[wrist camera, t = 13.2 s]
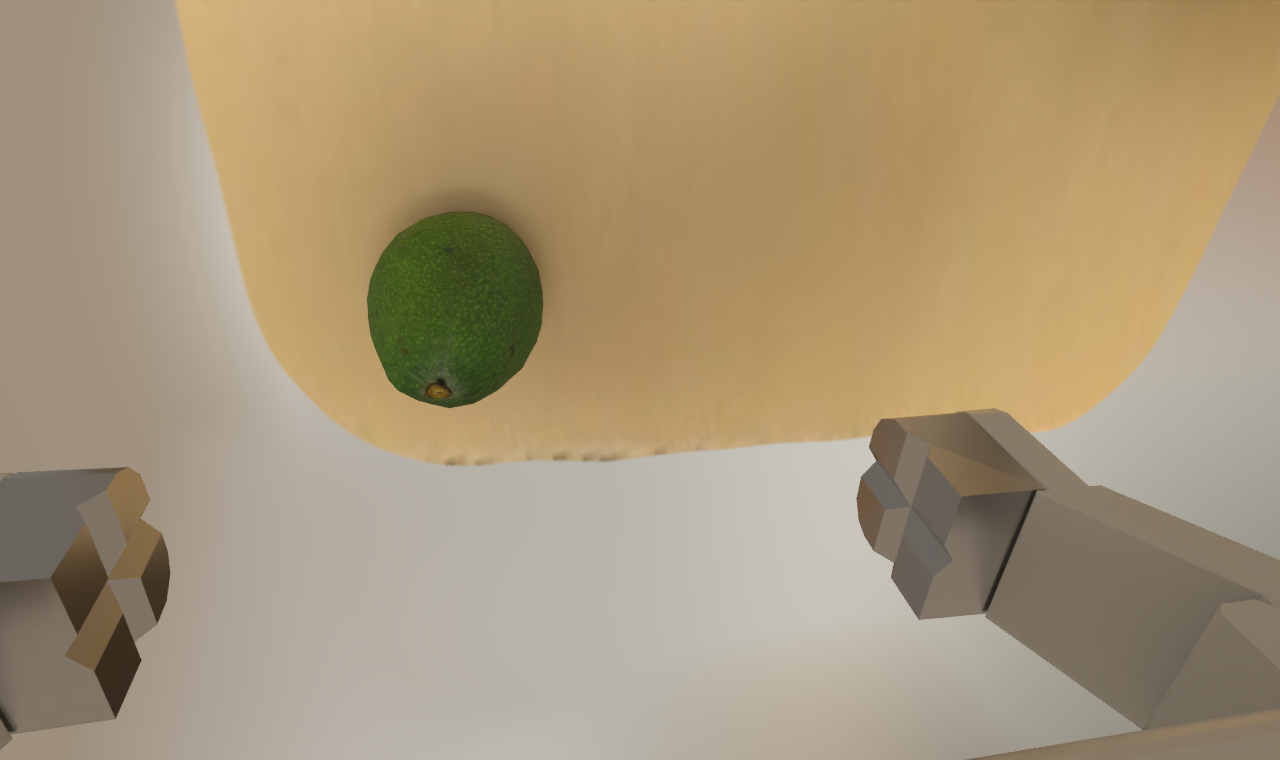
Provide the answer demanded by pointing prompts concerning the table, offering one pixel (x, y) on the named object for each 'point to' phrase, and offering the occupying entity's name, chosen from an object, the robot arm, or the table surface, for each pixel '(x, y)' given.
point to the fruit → (454, 308)
